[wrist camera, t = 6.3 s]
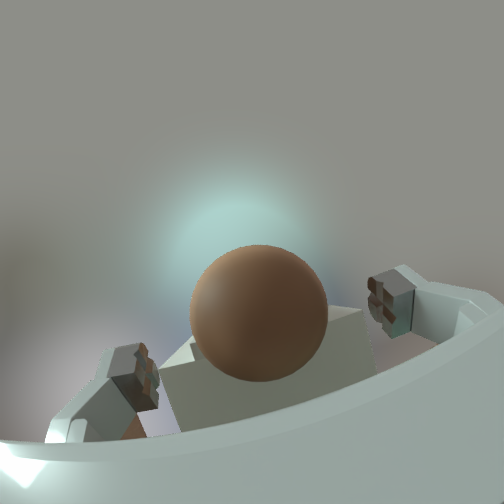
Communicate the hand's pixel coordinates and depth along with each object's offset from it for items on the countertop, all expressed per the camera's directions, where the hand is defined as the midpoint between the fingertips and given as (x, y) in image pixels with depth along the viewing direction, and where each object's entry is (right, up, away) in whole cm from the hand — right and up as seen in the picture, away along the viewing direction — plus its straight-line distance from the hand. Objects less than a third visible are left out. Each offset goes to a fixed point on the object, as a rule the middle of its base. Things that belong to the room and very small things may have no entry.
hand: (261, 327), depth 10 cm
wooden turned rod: (0, -3, +8) cm, 8 cm away
